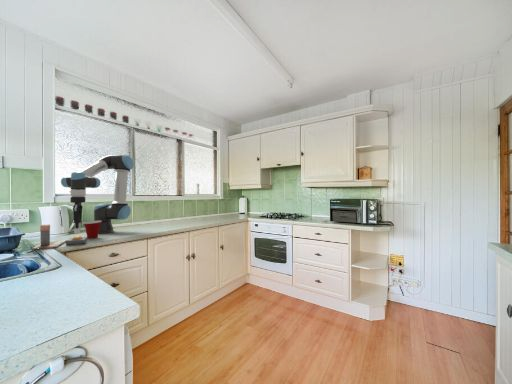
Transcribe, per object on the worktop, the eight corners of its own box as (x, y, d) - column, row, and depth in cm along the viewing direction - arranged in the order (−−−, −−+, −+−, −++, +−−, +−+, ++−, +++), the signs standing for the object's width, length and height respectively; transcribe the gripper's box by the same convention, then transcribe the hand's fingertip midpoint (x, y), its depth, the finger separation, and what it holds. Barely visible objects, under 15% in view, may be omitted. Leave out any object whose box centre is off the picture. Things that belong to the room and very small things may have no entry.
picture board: (67, 241, 146) (67, 239, 146) (56, 248, 129) (56, 246, 129) (45, 243, 141) (45, 241, 141) (31, 250, 123) (31, 248, 123)
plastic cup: (82, 237, 159) (82, 221, 159) (100, 235, 166) (101, 220, 166) (82, 240, 151) (82, 222, 151) (101, 238, 157) (102, 221, 158)
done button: (82, 239, 144) (82, 236, 144) (80, 240, 140) (80, 237, 140) (73, 239, 142) (74, 236, 142) (72, 241, 138) (72, 237, 138)
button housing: (87, 241, 147) (87, 236, 147) (84, 244, 139) (84, 239, 139) (70, 242, 143) (70, 238, 143) (65, 245, 135) (66, 240, 135)
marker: (51, 244, 133) (50, 224, 133) (48, 245, 129) (48, 225, 129) (41, 244, 131) (41, 224, 130) (39, 246, 127) (39, 226, 127)
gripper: (73, 196, 145) (72, 231, 145) (67, 196, 134) (66, 235, 133) (87, 196, 149) (86, 231, 148) (83, 196, 137) (82, 234, 137)
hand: (77, 233), depth 141 cm, fingers closed
